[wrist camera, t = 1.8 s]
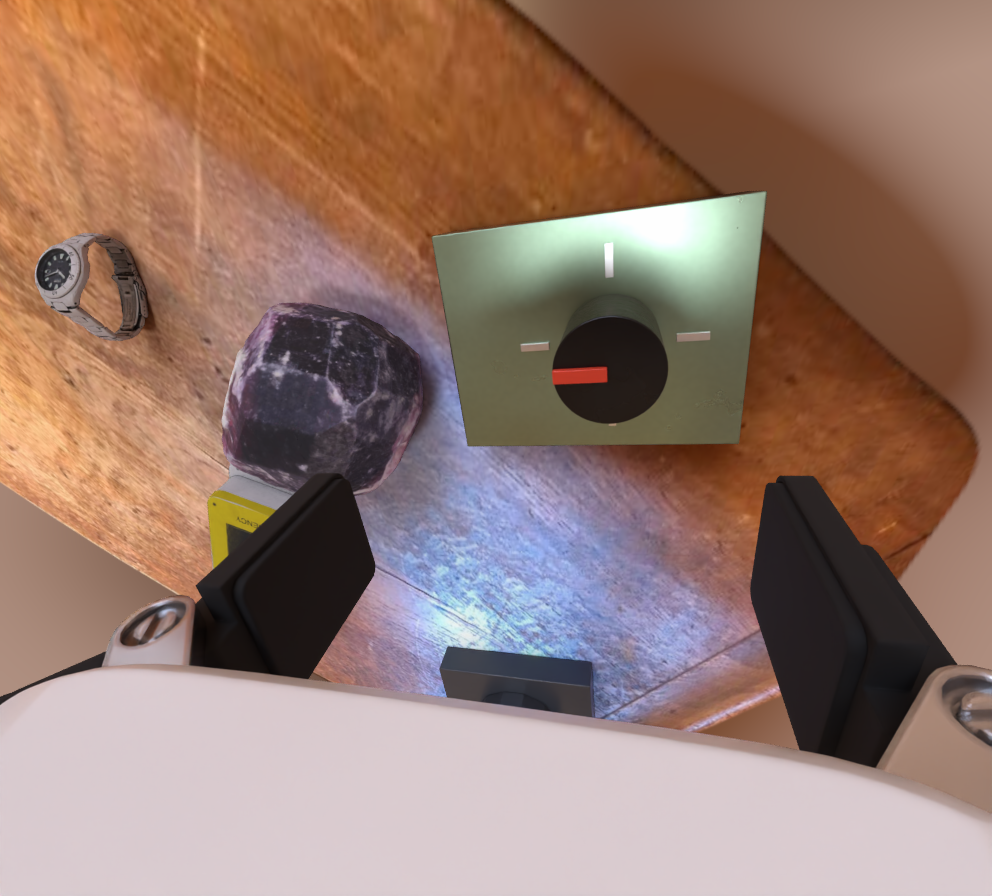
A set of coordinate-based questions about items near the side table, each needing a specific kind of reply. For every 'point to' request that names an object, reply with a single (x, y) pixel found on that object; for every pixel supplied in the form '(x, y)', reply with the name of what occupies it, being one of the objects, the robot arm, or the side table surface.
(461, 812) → the robot arm
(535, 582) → the side table surface
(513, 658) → the button block
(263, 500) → the emergency button
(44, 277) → the wristwatch
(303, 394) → the mineral specimen
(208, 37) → the side table surface
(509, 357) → the panel
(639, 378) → the knob
